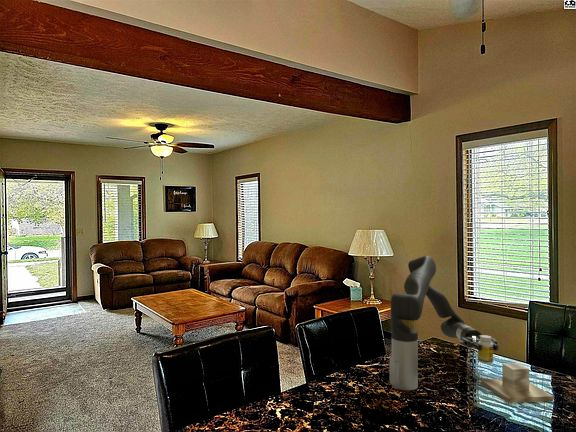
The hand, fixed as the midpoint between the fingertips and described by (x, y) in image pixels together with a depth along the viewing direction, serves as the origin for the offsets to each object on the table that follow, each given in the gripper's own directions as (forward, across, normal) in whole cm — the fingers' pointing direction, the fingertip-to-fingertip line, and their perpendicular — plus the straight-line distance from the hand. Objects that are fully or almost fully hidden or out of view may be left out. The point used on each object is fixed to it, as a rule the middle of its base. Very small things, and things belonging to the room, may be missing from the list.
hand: (488, 348), depth 159 cm
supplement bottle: (-3, 0, +6) cm, 7 cm away
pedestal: (+12, +4, +12) cm, 17 cm away
